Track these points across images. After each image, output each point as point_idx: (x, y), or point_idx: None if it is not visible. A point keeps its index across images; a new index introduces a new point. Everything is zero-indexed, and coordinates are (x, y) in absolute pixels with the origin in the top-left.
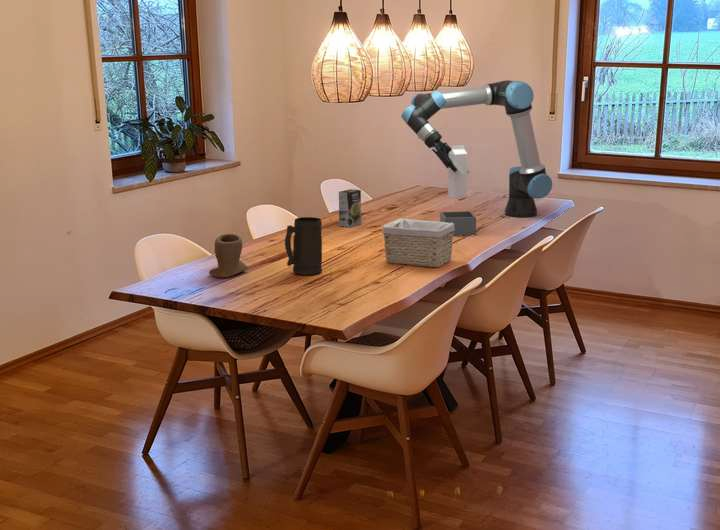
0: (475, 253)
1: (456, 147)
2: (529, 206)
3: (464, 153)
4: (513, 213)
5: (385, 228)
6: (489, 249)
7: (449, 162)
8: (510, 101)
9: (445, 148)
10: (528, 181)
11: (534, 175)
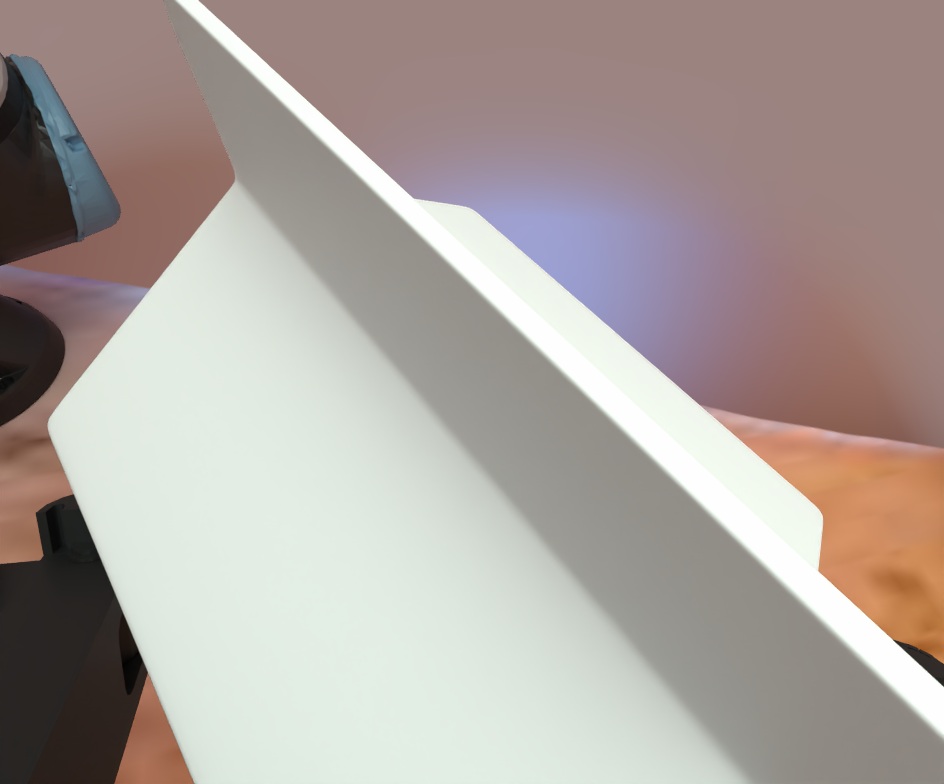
0: (793, 446)
1: (517, 407)
2: (10, 303)
3: (517, 255)
4: (27, 387)
5: None
6: (707, 407)
7: (938, 662)
8: None
9: None
10: (36, 165)
11: (24, 99)
